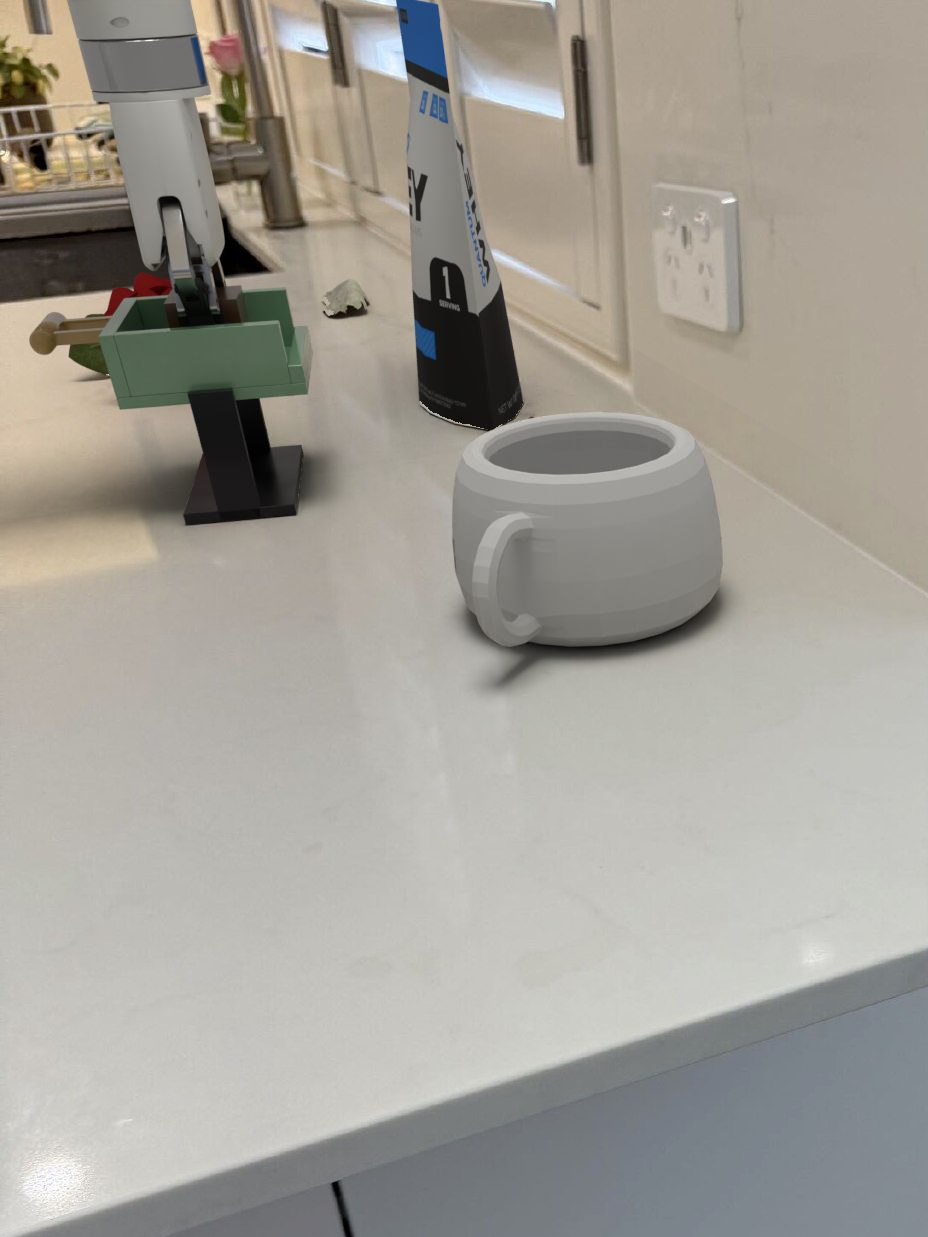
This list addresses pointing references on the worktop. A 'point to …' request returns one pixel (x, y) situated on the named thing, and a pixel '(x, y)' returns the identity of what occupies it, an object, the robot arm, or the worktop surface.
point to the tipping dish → (191, 350)
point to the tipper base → (239, 463)
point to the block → (228, 303)
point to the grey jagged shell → (346, 296)
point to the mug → (585, 529)
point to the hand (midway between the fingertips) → (218, 361)
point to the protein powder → (451, 249)
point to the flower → (143, 287)
